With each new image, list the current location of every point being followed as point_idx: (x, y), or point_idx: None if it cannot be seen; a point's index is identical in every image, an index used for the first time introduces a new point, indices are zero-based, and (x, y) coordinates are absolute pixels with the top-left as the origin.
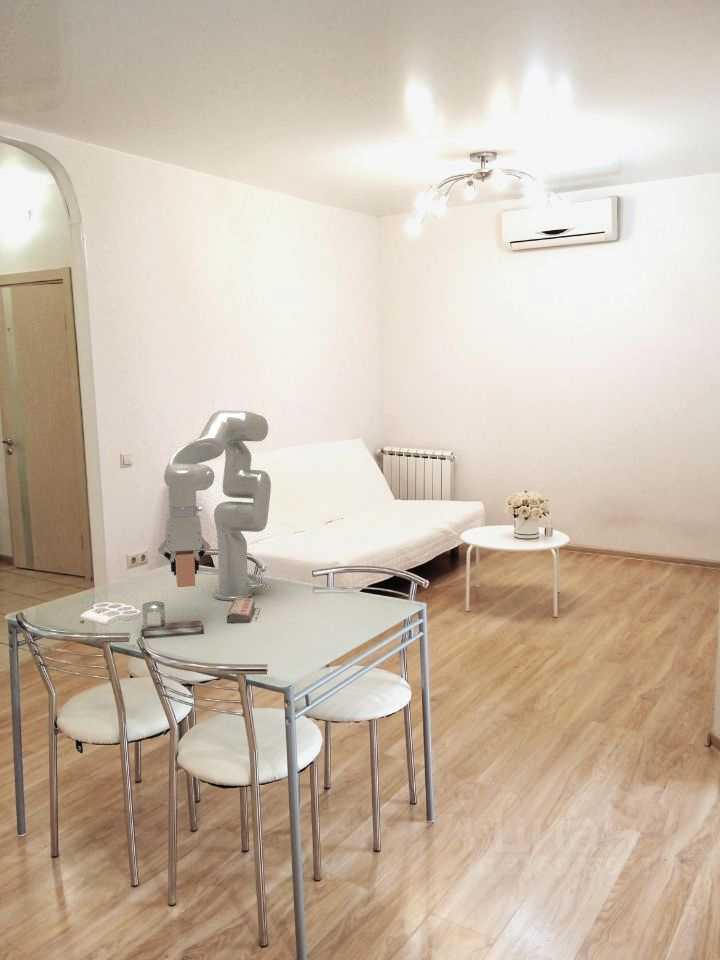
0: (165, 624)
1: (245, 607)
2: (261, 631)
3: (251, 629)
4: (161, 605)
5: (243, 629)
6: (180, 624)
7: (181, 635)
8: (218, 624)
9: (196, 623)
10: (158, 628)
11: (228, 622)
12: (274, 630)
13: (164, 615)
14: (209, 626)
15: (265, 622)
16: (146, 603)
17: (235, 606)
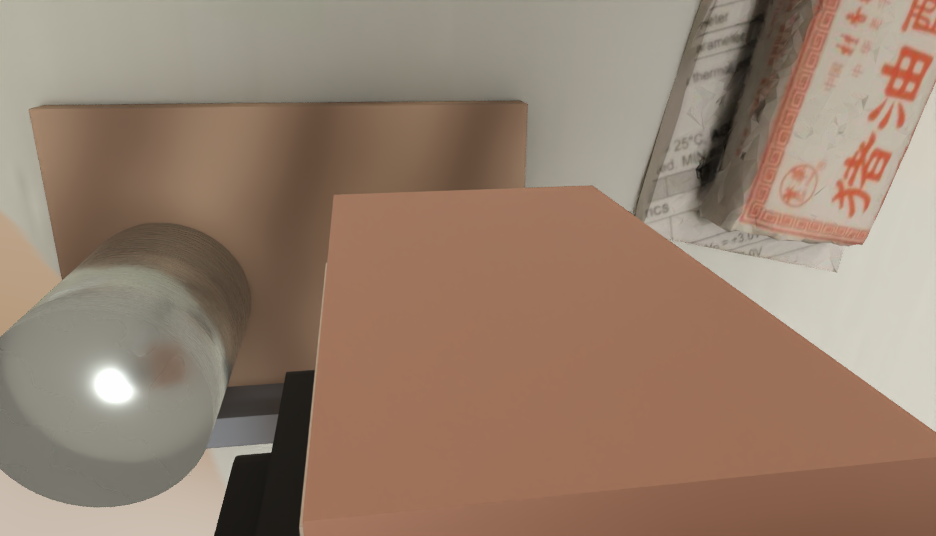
0: (239, 142)
1: (903, 87)
2: (852, 324)
3: (811, 278)
4: (188, 452)
5: (767, 269)
6: (362, 169)
7: None
8: (636, 130)
9: (484, 172)
10: None
11: (706, 213)
12: (923, 320)
13: (231, 371)
14: (570, 161)
15: (931, 159)
16: (5, 368)
17: (840, 62)
